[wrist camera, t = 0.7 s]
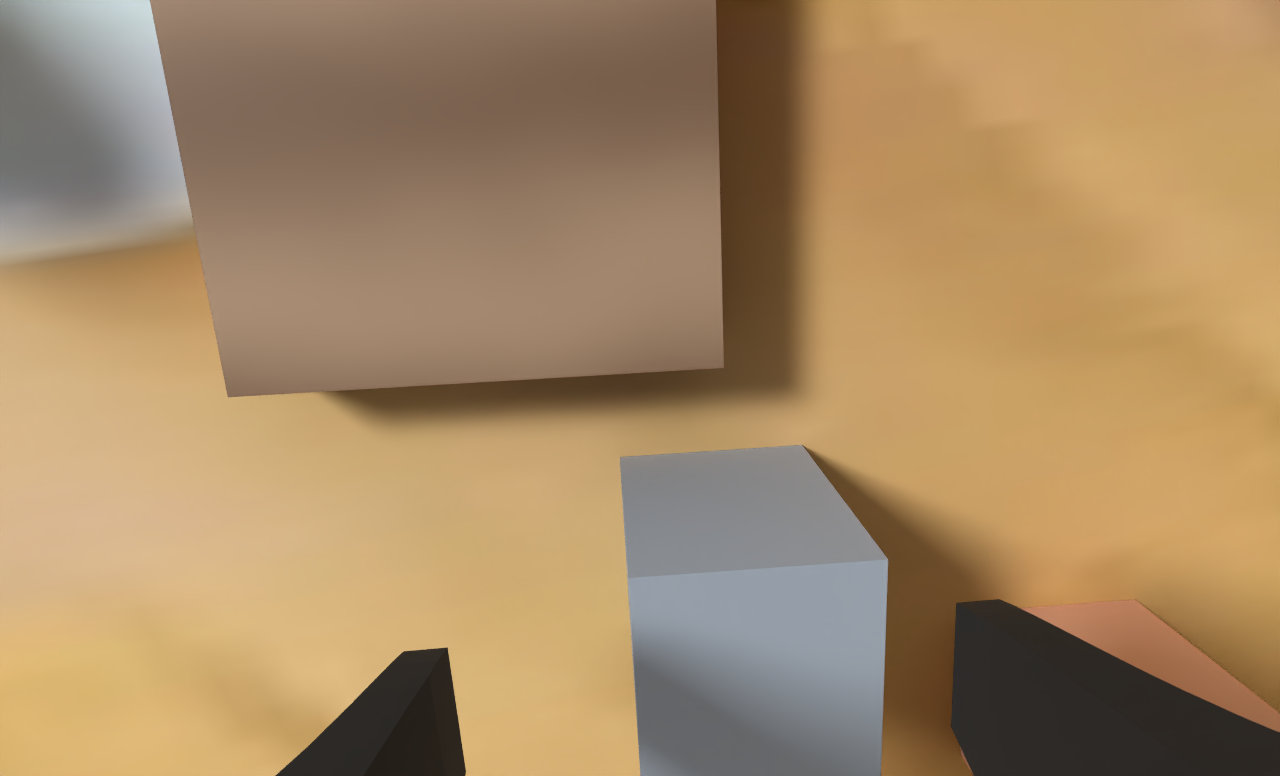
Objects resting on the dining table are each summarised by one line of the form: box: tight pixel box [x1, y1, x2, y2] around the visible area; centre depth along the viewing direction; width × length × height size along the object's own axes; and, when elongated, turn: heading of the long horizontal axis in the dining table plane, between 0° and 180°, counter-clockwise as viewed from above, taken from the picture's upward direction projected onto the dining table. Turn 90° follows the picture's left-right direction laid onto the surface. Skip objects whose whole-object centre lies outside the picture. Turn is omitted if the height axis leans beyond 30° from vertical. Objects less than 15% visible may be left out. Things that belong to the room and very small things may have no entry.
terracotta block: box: [960, 600, 1280, 776], centre depth 19 cm, size 4×4×6 cm
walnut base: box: [150, 0, 724, 397], centre depth 16 cm, size 10×10×3 cm
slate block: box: [620, 445, 888, 776], centre depth 17 cm, size 4×4×6 cm
